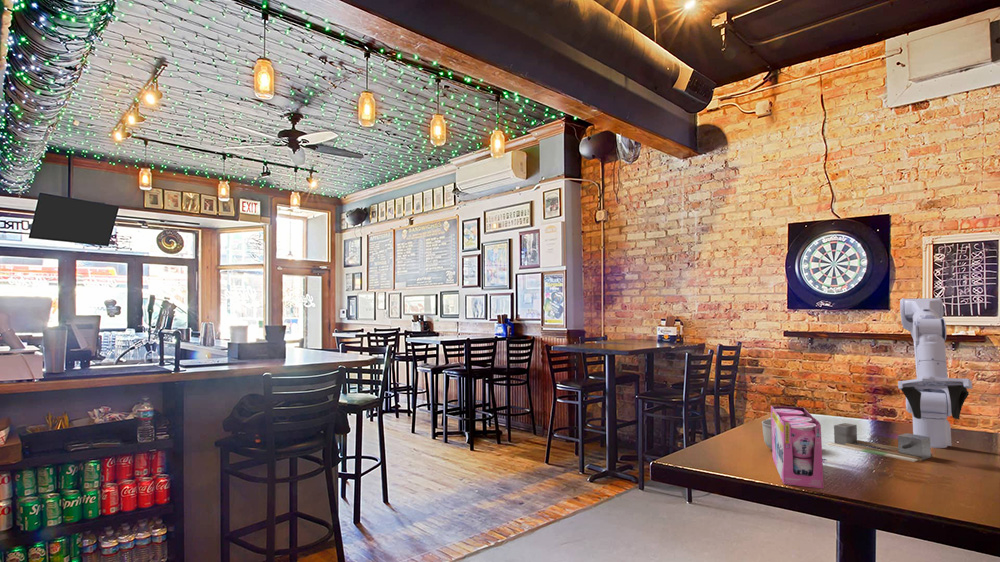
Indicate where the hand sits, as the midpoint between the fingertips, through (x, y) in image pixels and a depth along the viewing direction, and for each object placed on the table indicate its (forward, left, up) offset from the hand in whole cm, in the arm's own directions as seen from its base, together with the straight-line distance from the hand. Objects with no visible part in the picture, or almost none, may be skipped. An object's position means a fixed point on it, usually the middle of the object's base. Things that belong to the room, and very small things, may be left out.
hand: (936, 418), depth 129 cm
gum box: (+32, -17, -12) cm, 38 cm away
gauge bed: (-2, -13, -12) cm, 18 cm away
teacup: (+15, -29, -12) cm, 35 cm away
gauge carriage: (0, -5, -11) cm, 12 cm away
